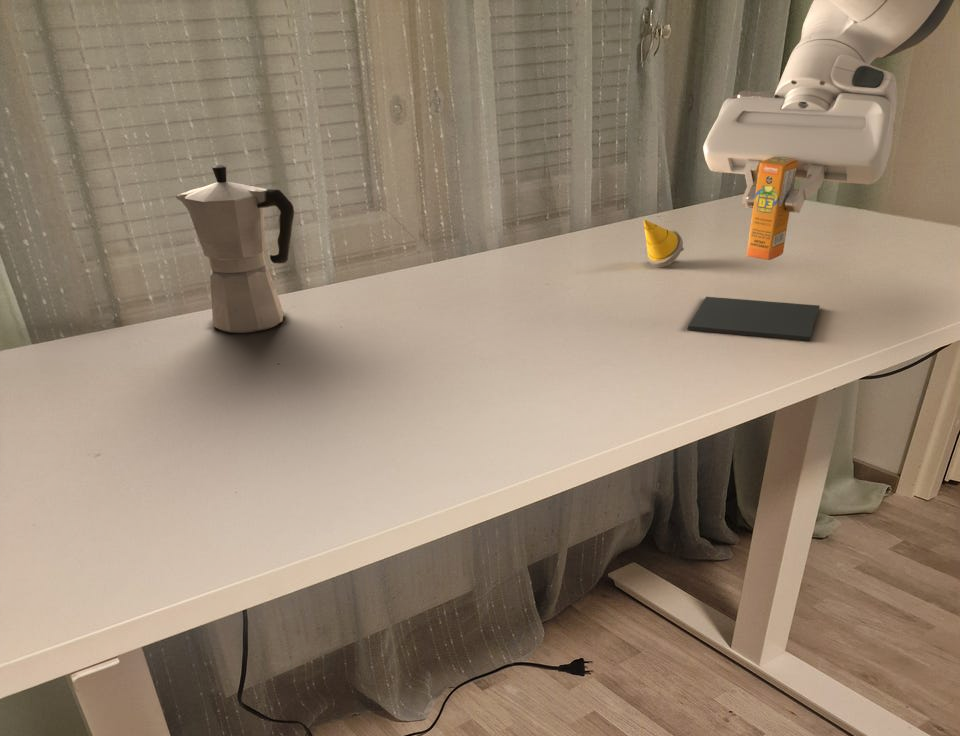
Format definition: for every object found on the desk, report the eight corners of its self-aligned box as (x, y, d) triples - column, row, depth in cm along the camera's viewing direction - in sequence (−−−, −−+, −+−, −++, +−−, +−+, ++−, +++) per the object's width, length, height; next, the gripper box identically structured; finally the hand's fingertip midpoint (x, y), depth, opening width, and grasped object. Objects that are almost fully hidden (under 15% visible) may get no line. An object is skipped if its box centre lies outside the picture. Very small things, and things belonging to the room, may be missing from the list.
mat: (818, 309, 107) (819, 305, 107) (809, 341, 98) (810, 336, 98) (705, 300, 111) (706, 296, 111) (687, 330, 103) (687, 325, 102)
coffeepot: (184, 329, 109) (146, 171, 98) (223, 307, 116) (192, 156, 105) (293, 338, 105) (266, 173, 94) (326, 314, 112) (305, 158, 101)
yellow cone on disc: (691, 270, 124) (662, 228, 116) (656, 283, 127) (626, 243, 119) (690, 239, 125) (661, 195, 118) (656, 253, 128) (626, 211, 121)
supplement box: (743, 256, 100) (757, 160, 94) (759, 250, 102) (773, 155, 96) (768, 261, 99) (784, 163, 92) (784, 255, 100) (801, 158, 94)
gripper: (723, 70, 99) (678, 180, 99) (911, 75, 89) (861, 197, 89) (733, 110, 104) (690, 215, 104) (910, 119, 95) (863, 233, 95)
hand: (770, 207), depth 97 cm, fingers closed on supplement box, 3 cm apart
